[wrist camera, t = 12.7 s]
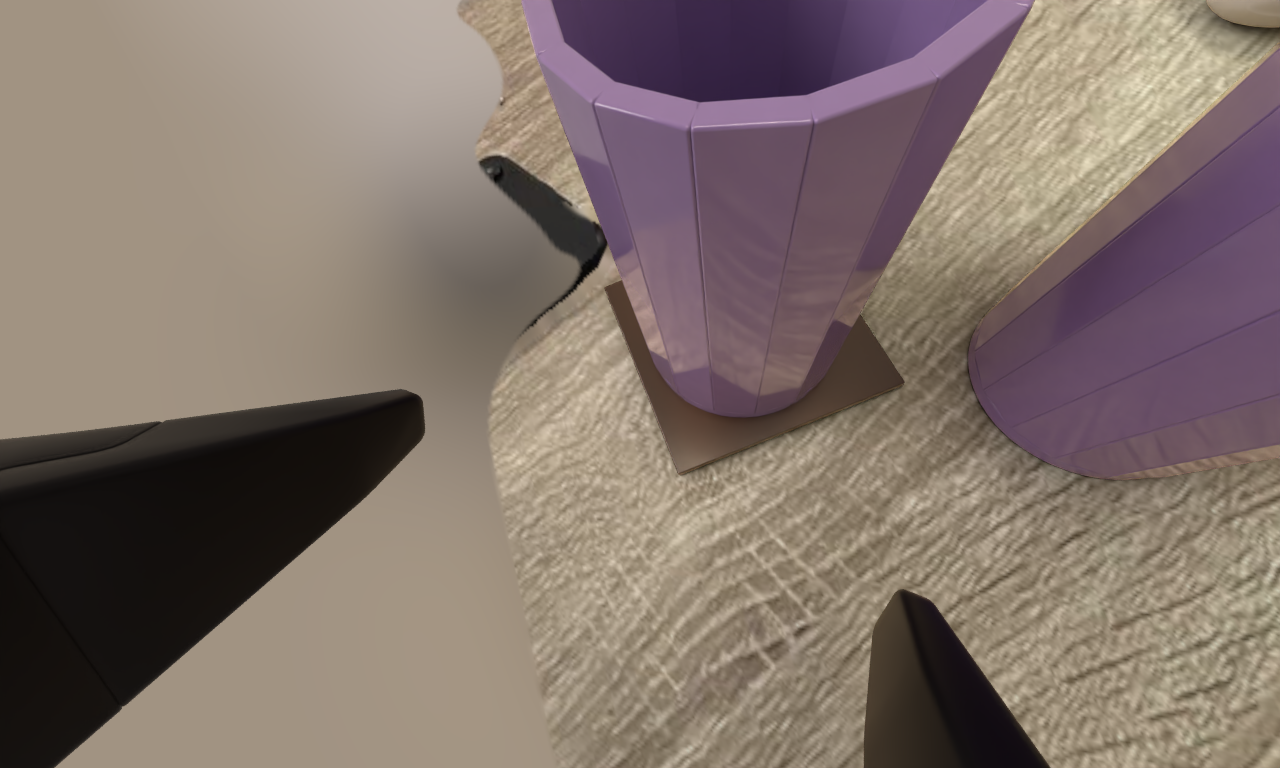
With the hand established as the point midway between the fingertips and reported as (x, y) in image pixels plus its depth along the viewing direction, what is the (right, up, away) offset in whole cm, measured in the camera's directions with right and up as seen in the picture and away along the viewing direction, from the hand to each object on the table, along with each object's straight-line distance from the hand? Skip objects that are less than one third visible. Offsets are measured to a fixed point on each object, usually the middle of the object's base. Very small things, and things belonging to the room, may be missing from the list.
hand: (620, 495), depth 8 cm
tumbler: (+4, +4, +9) cm, 11 cm away
